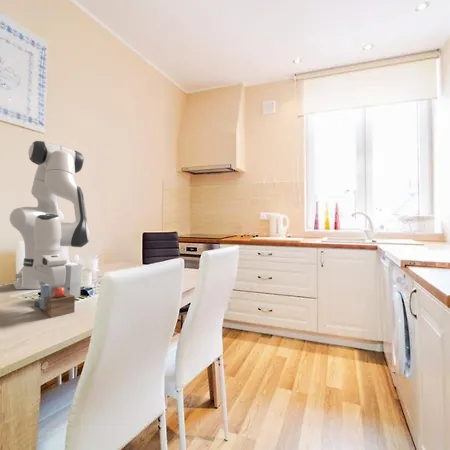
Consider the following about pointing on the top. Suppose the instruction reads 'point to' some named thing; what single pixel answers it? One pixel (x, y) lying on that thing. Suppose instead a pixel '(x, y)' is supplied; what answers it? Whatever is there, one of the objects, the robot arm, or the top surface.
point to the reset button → (59, 292)
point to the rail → (37, 303)
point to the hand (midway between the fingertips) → (47, 294)
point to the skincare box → (72, 279)
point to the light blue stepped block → (43, 295)
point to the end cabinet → (59, 305)
